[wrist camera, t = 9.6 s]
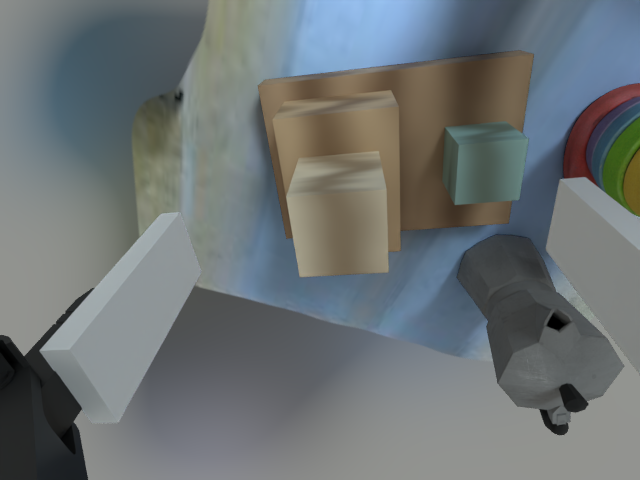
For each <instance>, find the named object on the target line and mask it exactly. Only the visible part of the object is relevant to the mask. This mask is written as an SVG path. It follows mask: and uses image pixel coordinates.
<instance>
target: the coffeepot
mask: <svg viewBox="0 0 640 480" xmlns="http://www.w3.org/2000/svg"><path fill="white" fill-rule="evenodd" d="M457 278H458V280H459V281H460V282H461V284H462V285H463V287H464V288H465V289H466V291H467V292H468V294H469V295H470V296H471V298H472V299H473V301H474V302H475V303H476V305H477V306H478V308H479V309H480V310H481V312H482V313H483V315H484V316H485V317H486V319H487V320H488V323H487V326H486V328H487V333H488V338H489V343H490V347H491V352H492V357H493V362H494V367H495V372H496V377H497V383H498V384H499V385H500V387H501V388H502V389H503V390H504V391H505V392H506V394H507V395H508V396H509V397H510V398H511V399H512V401H513V402H514V403H515V404H516V405H517V406H518V407H527V408H535V409H539V410H540V412H541V415H542V418H543V421H544V424H545V426H546V427H547V428H548V429H550V430H551V431H552V432H553V433H555V434H557V435H564V434H565V433H567V431H568V423H567V422H570V413H571V412H579V411H582V410H585V408H586V407H587V406H588V403H587V401H589V400H592V399H595V398H598V397H601V396H603V394H604V393H605V392H606V390H607V389H608V388H609V386H610V385H611V384H612V382H613V381H614V380H615V378H616V377H617V375H618V374H619V373H620V371H621V370H622V369H623V367H624V365H623V363H622V362H621V360H620V358H619V357H618V355H617V353H616V352H615V350H614V349H613V347H612V345H611V344H610V342H609V341H608V339H607V338H606V337H605V336H604V335H603V334H602V333H601V332H600V331H599V330H598V329H597V328H596V327H595V326H593V325H592V324H591V323H590V322H589V321H588V320H587V319H586V318H585V317H584V316H583V315H582V314H581V313H580V312H579V311H578V310H576V309H575V308H574V307H573V306H572V305H571V304H570V303H569V302H568V301H567V300H566V299H565V298H564V297H563V296H562V295H560V294H559V293H557V292H556V290H555V287H554V285H553V282H552V280H551V278H550V275H549V273H548V270H547V268H546V265H545V263H544V261H543V259H542V257H541V256H540V254H539V253H538V251H537V250H536V248H535V247H534V245H533V243H532V242H531V240H530V239H529V238H524V237H518V236H513V235H494V236H492V237H489V238H487V239H485V240H483V241H480V242H479V243H477V244H476V245H474V246H473V247H472V248H471V249H469V250H468V251H466V252H465V255H464V257H463V259H462V261H461V264H460V268H459V272H458V275H457Z"/></svg>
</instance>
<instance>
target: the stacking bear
mask: <svg viewBox="0 0 640 480" xmlns="http://www.w3.org/2000/svg"><path fill="white" fill-rule="evenodd" d="M563 173H564V179H568V178H579V177H586V178H587V179H588V180H590V181H591V182H592V183H593V184H595V185H596V186H597V187H599V188H600V189H601V190H602V191H604V192H605V193H606V194H607V195H609V196H610V197H611V198H613V199H614V200H615V201H616V202H618V203H619V204H620V205H621V206H623V207H624V208H625V209H627V210H628V211H629V212H630V213H632V214H634V215H636V216H639V217H640V83H638V84H631V85H626V86H622V87H619V88H617V89H614V90H612V91H610V92H608V93H606V94H605V95H603V96H602V97H600V98H598V99H597V100H596V101H595V102H593V103H592V104H591V105H590V106H589V107H588V108H587V109H586V110H585V111H584V112H583V113H582V114H581V116H580V117H579V118H578V120H577V121H576V123H575V125H574V127H573V129H572V131H571V133H570V136H569V139H568V142H567V145H566V149H565V154H564V162H563Z"/></svg>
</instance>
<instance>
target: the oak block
mask: <svg viewBox="0 0 640 480" xmlns="http://www.w3.org/2000/svg"><path fill="white" fill-rule="evenodd" d="M286 200H287V205H288V211H289V217H290V223H291V229H292V235H293V241H294V246H295V252H296V258H297V264H298V270H299V276H300V277H314V276H333V275H351V274H370V273H389V263H388V225H387V189H386V184H385V180H384V175H383V170H382V165H381V160H380V155H379V151H374V152H362V153H351V154H340V155H328V156H317V157H305V158H299V159H298V162H297V165H296V168H295V171H294V174H293V177H292V181H291V184H290V187H289V190H288V193H287V196H286Z"/></svg>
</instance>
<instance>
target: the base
mask: <svg viewBox="0 0 640 480" xmlns="http://www.w3.org/2000/svg"><path fill="white" fill-rule="evenodd" d="M533 58H534V54H532V53H528V52H524V51H521V50H517V51H509V52H500V53H491V54H483V55H474V56H466V57H457V58H449V59H440V60H431V61H423V62H414V63H406V64H397V65H388V66H380V67H371V68H363V69H354V70H345V71H337V72H328V73H320V74H311V75H302V76H294V77H285V78H277V79H268V80H264V81H263V82H262V83H261V84H259V85H258V89H259V95H260V100H261V105H262V111H263V116H264V121H265V127H266V132H267V137H268V143H269V148H270V153H271V159H272V164H273V170H274V175H275V180H276V186H277V191H278V196H279V202H280V207H281V212H282V218H283V223H284V228H285V234H286V239H289V238H293V235H292V229H291V223H290V217H289V211H288V205H287V200H286V196H287V193H288V190H289V187H290V184H291V181H292V177H293V174H294V171H295V168H296V165H297V162H298V159H299V158H305V157H317V156H328V155H340V154H351V153H362V152H374V151H379V155H380V160H381V165H382V170H383V175H384V180H385V184H386V189H387V225H388V252H395V251H401V236H400V231H405V230H420V229H435V228H449V227H464V226H478V225H493V224H508V223H509V219H510V212H511V205H512V201H515V200H519V198H520V192H521V186H522V179H523V173H524V167H525V161H526V154H527V148H528V142H529V138H527V137H526V136H525V135H523V134H522V131H523V125H524V118H525V111H526V105H527V98H528V91H529V84H530V78H531V71H532V64H533Z"/></svg>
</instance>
